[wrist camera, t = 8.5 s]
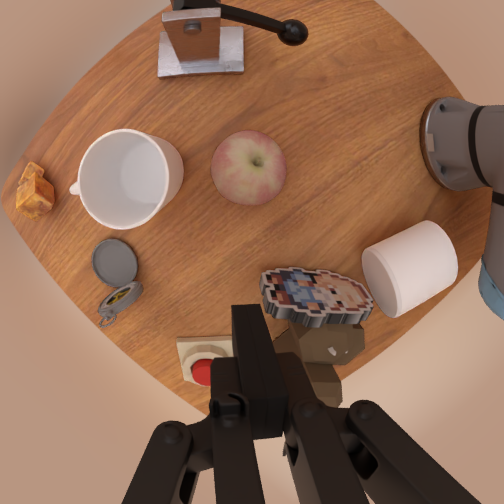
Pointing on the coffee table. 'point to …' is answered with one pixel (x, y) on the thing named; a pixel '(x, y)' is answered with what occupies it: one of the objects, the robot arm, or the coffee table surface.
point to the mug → (128, 178)
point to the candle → (323, 354)
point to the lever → (252, 20)
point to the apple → (248, 168)
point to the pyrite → (34, 193)
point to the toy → (314, 297)
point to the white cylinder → (409, 267)
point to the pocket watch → (116, 276)
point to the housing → (201, 351)
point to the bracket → (199, 44)
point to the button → (202, 372)
